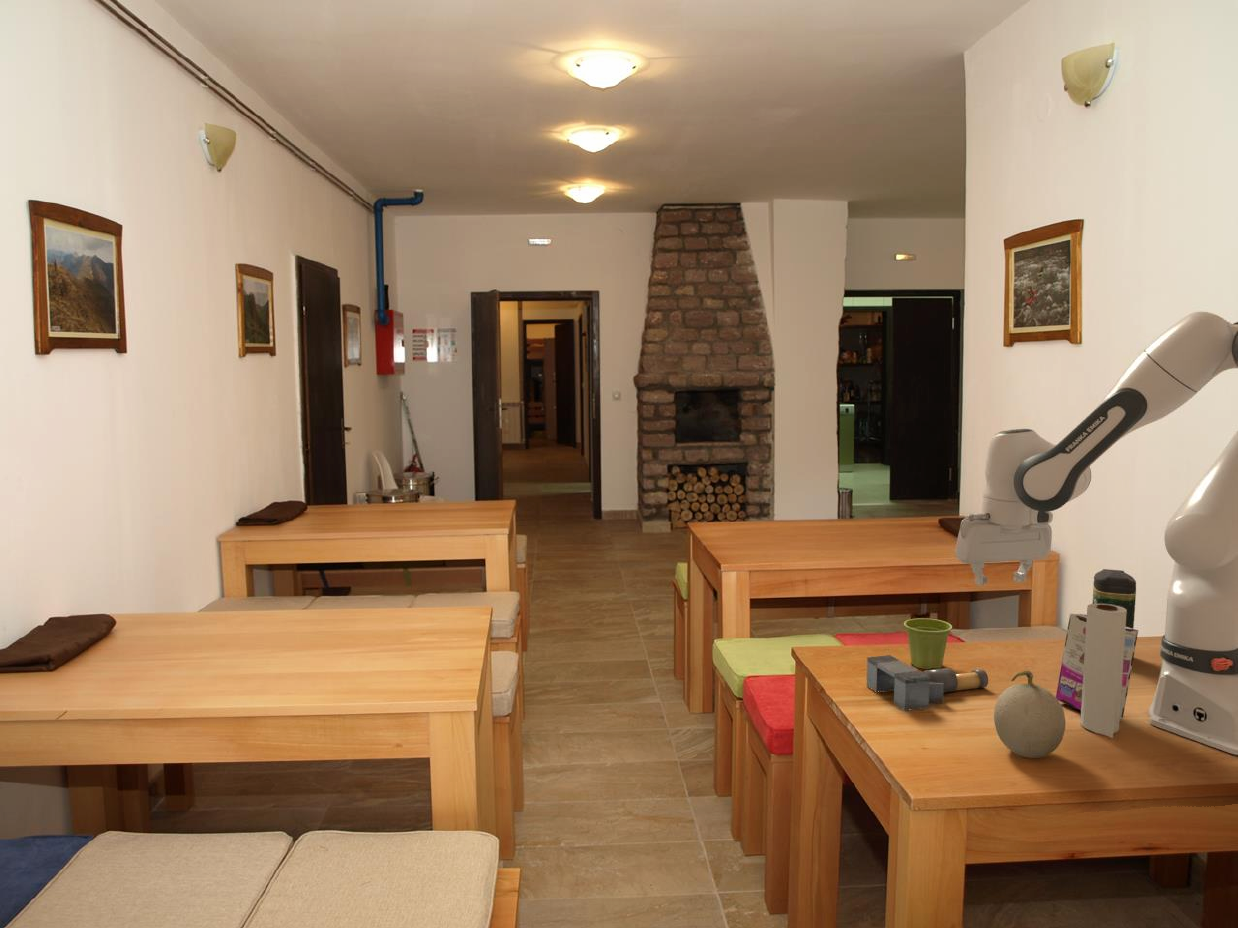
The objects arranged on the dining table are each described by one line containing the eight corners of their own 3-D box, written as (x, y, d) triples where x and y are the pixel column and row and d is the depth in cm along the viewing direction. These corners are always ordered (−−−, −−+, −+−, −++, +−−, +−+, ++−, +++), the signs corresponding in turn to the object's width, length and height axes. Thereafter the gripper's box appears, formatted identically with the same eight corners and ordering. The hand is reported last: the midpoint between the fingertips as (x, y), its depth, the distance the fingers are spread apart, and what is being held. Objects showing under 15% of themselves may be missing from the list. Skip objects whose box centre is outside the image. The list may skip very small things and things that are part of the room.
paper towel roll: (1085, 717, 170) (1092, 600, 167) (1122, 726, 166) (1130, 606, 163) (1074, 730, 164) (1081, 608, 161) (1112, 739, 160) (1120, 615, 158)
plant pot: (941, 676, 191) (943, 633, 190) (895, 666, 197) (897, 625, 196) (956, 663, 199) (958, 623, 198) (912, 655, 204) (913, 615, 203)
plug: (974, 681, 187) (976, 660, 186) (989, 691, 183) (991, 669, 182) (919, 688, 184) (921, 666, 183) (933, 697, 180) (935, 676, 179)
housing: (948, 705, 176) (949, 674, 175) (904, 710, 173) (905, 679, 172) (907, 681, 188) (908, 653, 187) (866, 686, 185) (867, 657, 185)
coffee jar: (1134, 666, 197) (1140, 578, 194) (1091, 662, 199) (1096, 575, 197) (1127, 652, 206) (1133, 568, 203) (1087, 648, 208) (1091, 565, 206)
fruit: (1041, 738, 161) (1045, 651, 159) (1075, 767, 150) (1081, 675, 148) (979, 739, 161) (983, 652, 159) (1009, 768, 149) (1014, 676, 147)
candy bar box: (1124, 721, 168) (1140, 629, 167) (1103, 720, 166) (1119, 628, 165) (1074, 699, 179) (1089, 613, 177) (1053, 699, 177) (1068, 612, 176)
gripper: (973, 518, 177) (967, 590, 179) (1060, 513, 184) (1053, 583, 186) (950, 511, 183) (945, 582, 185) (1035, 507, 190) (1029, 575, 192)
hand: (1000, 582), depth 185 cm, fingers open, 8 cm apart
